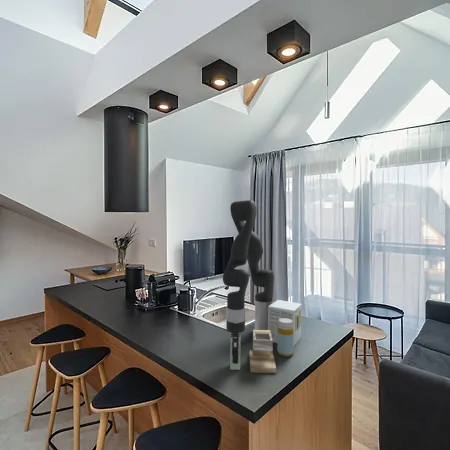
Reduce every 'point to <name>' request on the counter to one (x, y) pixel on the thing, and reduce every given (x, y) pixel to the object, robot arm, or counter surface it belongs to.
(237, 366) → the rail post
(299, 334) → the supplement box
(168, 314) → the counter surface
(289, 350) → the bottle
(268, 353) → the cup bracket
